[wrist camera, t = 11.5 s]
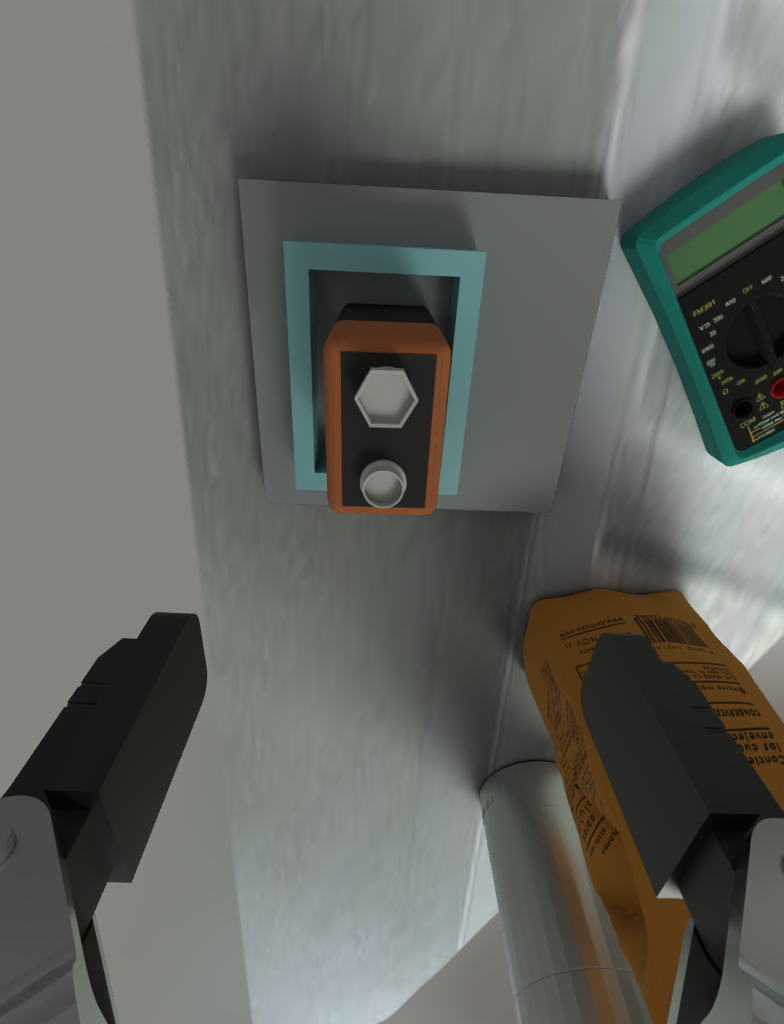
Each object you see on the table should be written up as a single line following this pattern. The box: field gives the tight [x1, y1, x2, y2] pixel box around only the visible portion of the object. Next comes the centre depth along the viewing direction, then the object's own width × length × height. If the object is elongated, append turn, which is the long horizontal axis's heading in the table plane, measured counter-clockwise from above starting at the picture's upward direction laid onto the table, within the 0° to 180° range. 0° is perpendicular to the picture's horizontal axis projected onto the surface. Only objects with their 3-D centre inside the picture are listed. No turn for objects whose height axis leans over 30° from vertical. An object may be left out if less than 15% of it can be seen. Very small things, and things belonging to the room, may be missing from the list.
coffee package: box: [522, 589, 784, 1024], centre depth 28 cm, size 10×12×22 cm
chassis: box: [238, 179, 623, 513], centre depth 26 cm, size 17×16×4 cm
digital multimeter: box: [621, 133, 784, 466], centre depth 26 cm, size 7×15×3 cm, turn 35°
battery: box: [323, 303, 451, 515], centre depth 22 cm, size 4×7×10 cm, turn 178°
